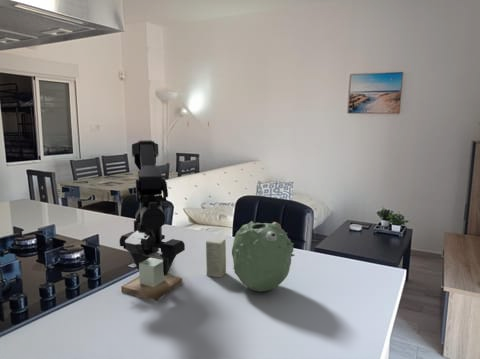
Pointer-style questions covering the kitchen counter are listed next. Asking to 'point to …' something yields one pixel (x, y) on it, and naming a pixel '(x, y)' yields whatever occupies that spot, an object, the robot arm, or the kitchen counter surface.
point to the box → (216, 257)
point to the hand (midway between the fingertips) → (152, 272)
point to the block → (151, 272)
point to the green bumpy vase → (262, 255)
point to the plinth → (148, 291)
